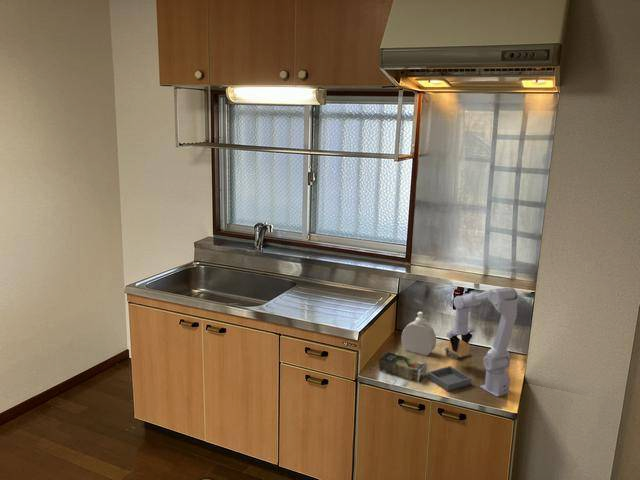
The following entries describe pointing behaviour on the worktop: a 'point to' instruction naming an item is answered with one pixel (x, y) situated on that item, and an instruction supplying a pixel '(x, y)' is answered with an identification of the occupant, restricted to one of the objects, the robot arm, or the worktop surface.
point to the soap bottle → (419, 336)
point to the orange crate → (461, 348)
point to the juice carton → (403, 366)
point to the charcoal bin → (449, 378)
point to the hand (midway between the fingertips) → (459, 349)
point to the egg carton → (448, 353)
